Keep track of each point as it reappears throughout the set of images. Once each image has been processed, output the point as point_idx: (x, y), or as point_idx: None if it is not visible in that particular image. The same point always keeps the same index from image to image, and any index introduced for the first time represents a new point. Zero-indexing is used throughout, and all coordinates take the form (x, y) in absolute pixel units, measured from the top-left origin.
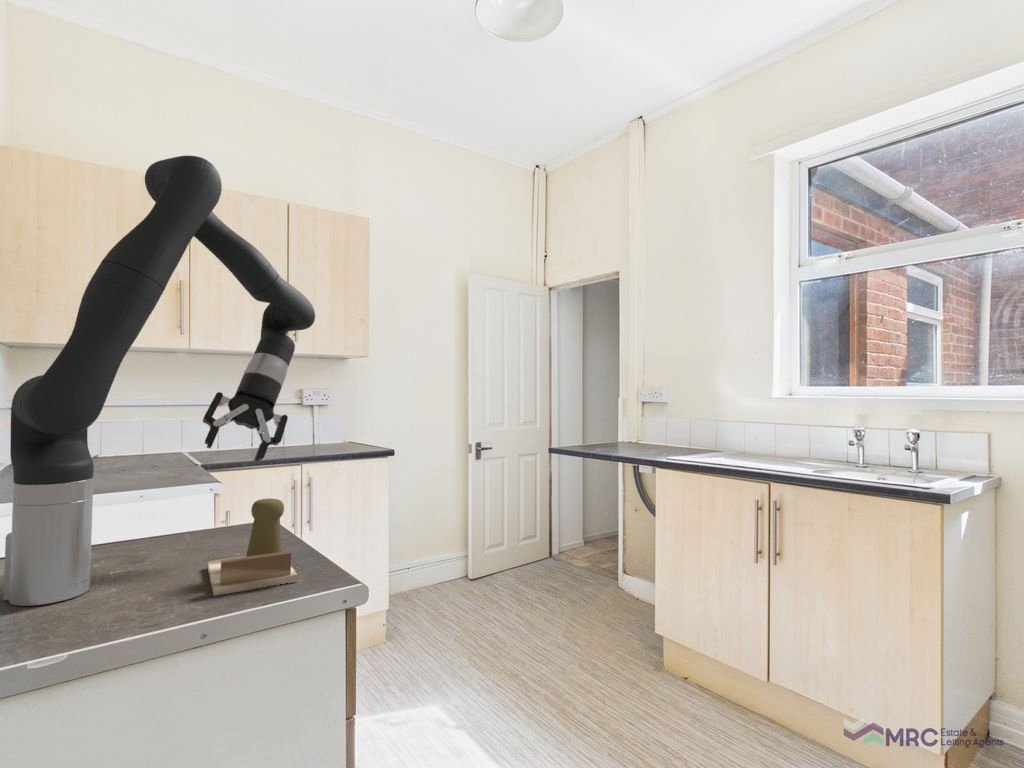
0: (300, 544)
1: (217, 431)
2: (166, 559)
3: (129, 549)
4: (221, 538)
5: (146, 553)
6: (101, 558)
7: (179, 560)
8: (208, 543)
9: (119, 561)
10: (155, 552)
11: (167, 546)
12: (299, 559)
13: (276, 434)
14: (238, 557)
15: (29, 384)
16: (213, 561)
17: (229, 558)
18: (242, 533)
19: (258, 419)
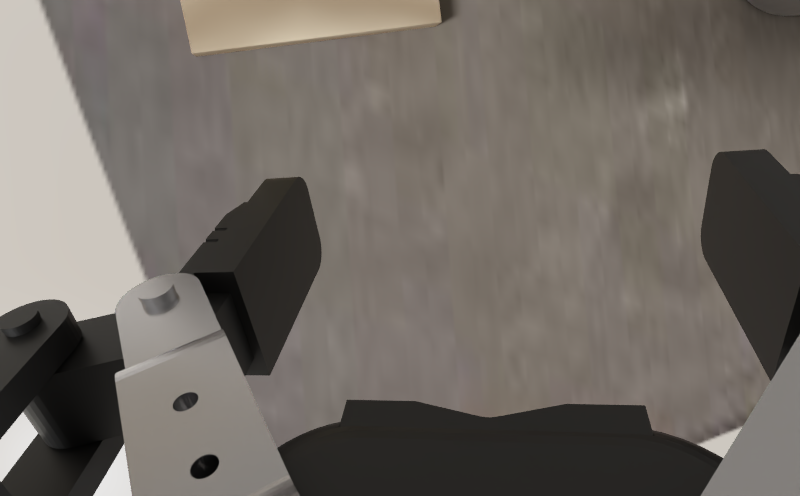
0: (129, 233)
1: (792, 230)
2: (560, 189)
3: (665, 346)
4: None
5: (618, 283)
6: None
7: (523, 162)
8: (455, 350)
9: (677, 215)
10: (596, 286)
11: (570, 349)
12: (123, 10)
13: (16, 373)
14: (344, 30)
15: None
16: (423, 10)
17: (373, 30)
18: None
19: (270, 466)
